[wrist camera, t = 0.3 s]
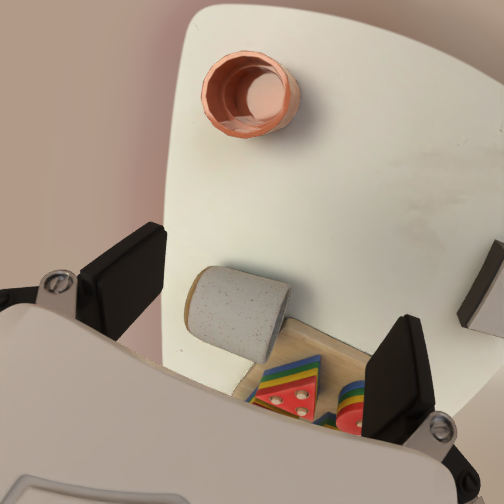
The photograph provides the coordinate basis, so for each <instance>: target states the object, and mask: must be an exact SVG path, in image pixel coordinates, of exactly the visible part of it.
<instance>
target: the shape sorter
mask: <svg viewBox="0 0 504 504" xmlns="http://www.w3.org/2000/svg"><path fill="white" fill-rule="evenodd" d="M370 358H371V356H369V355H367V354H365V353H363V352H361V351H359V350H357V349H355V348H353V347H351V346H348V345H346V344H344V343H342V342H340V341H338V340H336V339H334V338H332V337H330V336H328V335H326V334H324V333H322V332H320V331H318V330H316V329H313V328H311V327H309V326H307V325H306V324H304V323H302V322H300V321H297V320H295V319H293V318H287V319H286V320H285V321H284V323H283V324H282V326H281V328H280V331H279V334H278V337H277V339H276V342H275V345H274V348H273V350H272V353H271V355H270V357H269V359H268V361H267V362H266V363H265V364H259V363H256V362H255V363H254V365H253V366H252V367H251V368H250V370H249V371H248V372H247V374H246V375H245V377H244V378H243V379H242V380H241V382H240V383H239V384H238V386H237V387H236V388H235V390H234V391H233V393H232V397H234V398H237V399H240V400H242V401H245V402H248V403H250V404H253V405H256V406H259V407H261V408H264V409H267V410H270V411H273V412H276V413H279V414H282V415H285V416H288V417H291V418H295V419H298V420H301V421H305V422H308V423H311V424H315V425H318V426H322V427H326V428H330V429H333V430H337V431H341V432H345V433H349V434H353V435H361V429H362V417H363V403H364V384H365V368H366V365H367V362H368V361H369V360H370Z"/></svg>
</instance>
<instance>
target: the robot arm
mask: <svg viewBox="0 0 504 504" xmlns="http://www.w3.org/2000/svg"><path fill="white" fill-rule="evenodd" d="M166 242H167V232H166V231H165V230H164V227H163V226H162V225H159V224H156V223H154V222H148V223H146V224H145V225H143V226H142V227H140V228H139V229H138V230H136V231H135V232H133V233H132V234H130V235H129V236H127V237H126V238H124V239H123V240H121V241H120V242H119V243H117V244H116V245H114V246H113V247H112V248H110V249H109V250H107V251H106V252H104V253H103V254H102V255H100V256H99V257H98V258H96V259H95V260H94V261H92V262H91V263H89V264H88V265H87V266H85V267H84V268H83V269H81V270H80V274H79V275H78V276H76V275H75V274H74V273H72V272H71V271H68V270H55V271H52V272H49V273H48V274H46V275H45V276H44V277H43V278H42V280H41V282H40V285H39V286H36V287H23V288H11V289H2V290H0V504H485V503H484V501H483V498H482V496H480V497H478V496H477V495H478V493H479V491H480V486H481V485H480V478H479V475H478V473H477V472H476V470H475V469H474V468H473V467H472V466H471V464H470V463H469V462H468V461H467V459H466V458H465V457H464V456H463V455H462V454H461V452H460V451H459V450H458V449H457V447H456V446H455V445H454V442H455V440H456V438H457V428H456V425H455V422H454V421H453V419H452V418H451V417H450V416H449V415H448V414H447V413H444V412H442V411H435V407H434V405H435V396H434V389H433V382H432V376H431V370H430V364H429V359H428V354H427V349H426V344H425V339H424V334H423V330H422V325H421V321H420V319H419V318H417V317H414V316H411V315H408V314H406V315H404V316H403V317H402V316H400V317H399V318H398V319H397V321H396V323H395V324H394V326H393V327H392V329H391V330H390V331H389V333H388V334H387V336H386V337H385V339H384V340H383V342H382V343H381V344H380V346H379V347H378V349H377V350H376V351H375V353H374V354H373V356H372V357H371V358H370V360H369V361H368V362H367V365H366V368H365V384H364V403H363V417H362V429H361V436H357V435H353V434H349V433H345V432H341V431H337V430H333V429H330V428H326V427H322V426H318V425H315V424H311V423H308V422H305V421H301V420H298V419H295V418H291V417H288V416H285V415H282V414H279V413H276V412H273V411H270V410H267V409H264V408H261V407H259V406H256V405H253V404H250V403H248V402H245V401H242V400H240V399H237V398H234V397H232V396H229V395H227V394H224V393H222V392H219V391H217V390H215V389H212V388H210V387H207V386H205V385H203V384H200V383H198V382H196V381H194V380H191V379H189V378H187V377H185V376H183V375H180V374H178V373H176V372H174V371H172V370H170V369H168V368H166V367H163V366H161V365H159V364H157V363H155V362H153V361H151V360H149V359H147V358H145V357H144V356H142V355H140V354H138V353H136V352H134V351H132V350H130V349H128V348H127V347H125V346H123V345H121V344H119V343H117V342H116V341H117V340H118V339H119V338H120V337H121V335H122V334H123V333H124V332H125V331H126V330H127V329H128V328H129V326H130V325H131V324H132V323H133V322H134V321H135V320H136V319H137V318H138V317H139V316H140V314H141V313H142V312H143V311H144V310H145V309H146V308H147V307H148V306H149V305H150V304H151V302H152V301H153V300H154V299H155V298H156V297H157V296H158V295H159V294H160V293H161V291H162V289H163V282H164V267H165V254H166Z"/></svg>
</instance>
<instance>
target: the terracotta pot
mask: <svg viewBox="0 0 504 504" xmlns="http://www.w3.org/2000/svg"><path fill="white" fill-rule="evenodd" d="M300 98H301V97H300V91H299V87H298V83H297V81H296V79H295V78H294V77H293V75H292V74H291V73H290V71H288V69H286V68H285V67H283V66H282V65H281V64H279V63H278V62H277V61H275V60H273V59H272V58H270V57H268V56H266V55H264V54H262V53H260V52H252V51H240V52H236V53H233V54H229V55H226V56H224V57H223V58H222V59H221V60H219V61H218V62H217V63H215V64H214V65H213V66H212V67H211V69H210V70H209V72H208V74H207V75H206V77H205V79H204V81H203V87H202V93H201V100H202V104H203V108H204V112H205V114H206V116H207V117H208V118H209V120H210V121H211V123H212V124H213V126H214V127H216V128H217V129H219V130H220V131H222V132H224V133H225V134H227V135H229V136H233V137H239V138H244V139H246V138H251V137H256V136H262V135H265V134H268V133H272V132H275V131H278V130H279V129H281V128H283V127H284V126H286V125H287V124H289V123H290V122H291V120H292V119H293V117H294V116H295V114H296V113H297V111H298V108H299V103H300Z"/></svg>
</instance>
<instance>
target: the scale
mask: <svg viewBox="0 0 504 504" xmlns="http://www.w3.org/2000/svg"><path fill="white" fill-rule="evenodd" d="M457 316H458V318H459V321H460V324H461V326H462V327H464V328H468V329H471V330H475V331H479V332H482V333H486V334H490V335H493V336H497V337H501V338H504V243H502V242H500V241H498V240H495V241H494V243H493V245H492V248H491V250H490V252H489V254H488V256H487V258H486V260H485V262H484V265H483V267H482V269H481V271H480V272H479V274H478V276H477V278H476V280H475V282H474V284H473V286H472V288H471V289H470V291H469V293H468V295H467V296H466V298H465V300H464V302H463V303H462V305H461V307H460V308H459V310H458V312H457Z"/></svg>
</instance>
